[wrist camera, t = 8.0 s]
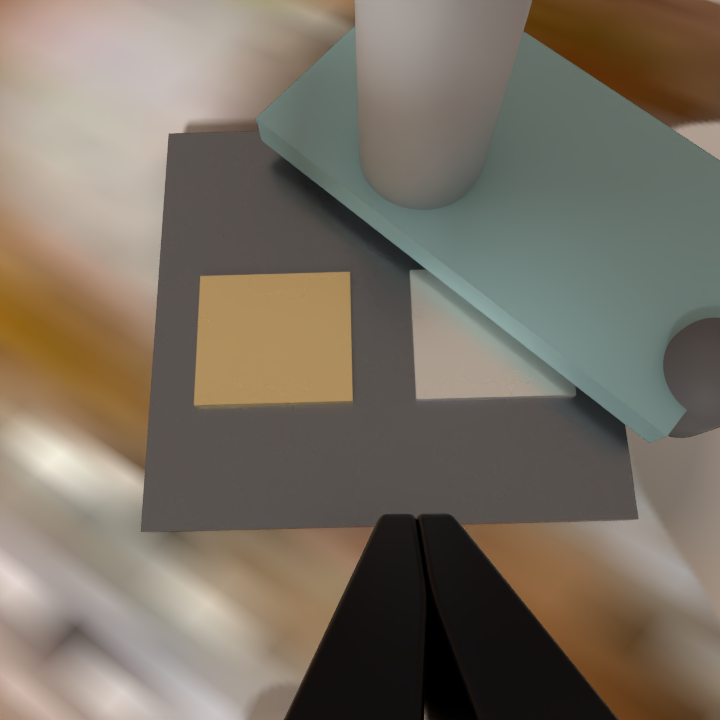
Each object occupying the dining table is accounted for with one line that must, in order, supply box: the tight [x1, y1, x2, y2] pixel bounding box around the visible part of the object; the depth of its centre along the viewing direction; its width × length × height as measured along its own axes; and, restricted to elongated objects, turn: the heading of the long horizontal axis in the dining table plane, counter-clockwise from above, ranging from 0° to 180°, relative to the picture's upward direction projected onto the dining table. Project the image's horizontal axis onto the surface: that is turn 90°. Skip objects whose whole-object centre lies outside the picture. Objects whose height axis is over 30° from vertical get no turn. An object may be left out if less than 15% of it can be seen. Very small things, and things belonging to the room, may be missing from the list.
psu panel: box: [141, 131, 638, 532], centre depth 19 cm, size 14×22×5 cm, turn 91°
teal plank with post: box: [256, 0, 720, 443], centre depth 17 cm, size 8×18×11 cm, turn 49°
